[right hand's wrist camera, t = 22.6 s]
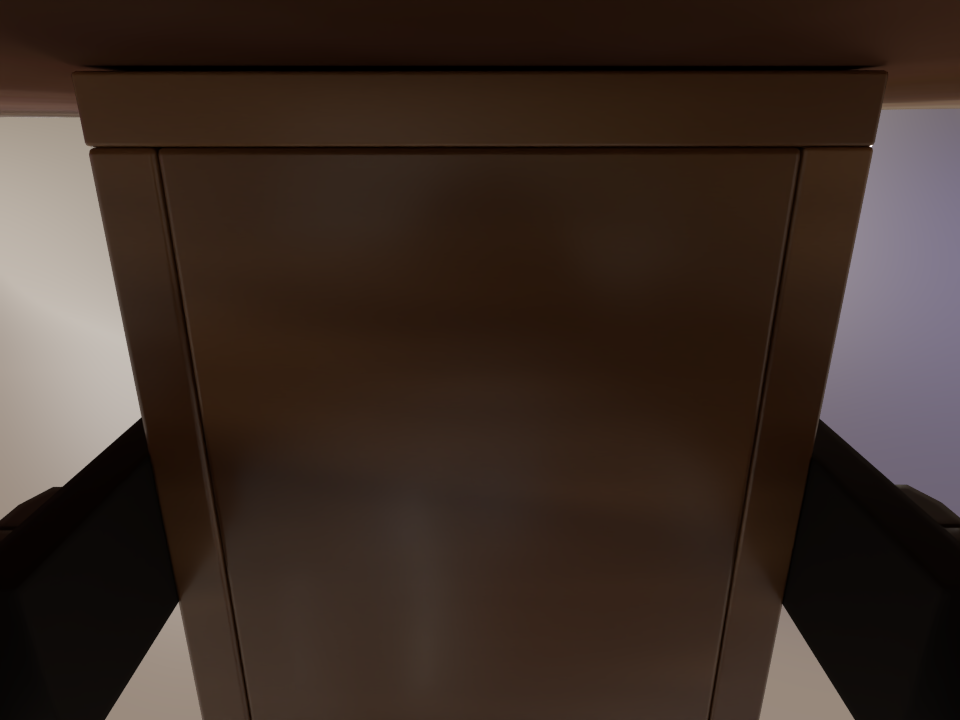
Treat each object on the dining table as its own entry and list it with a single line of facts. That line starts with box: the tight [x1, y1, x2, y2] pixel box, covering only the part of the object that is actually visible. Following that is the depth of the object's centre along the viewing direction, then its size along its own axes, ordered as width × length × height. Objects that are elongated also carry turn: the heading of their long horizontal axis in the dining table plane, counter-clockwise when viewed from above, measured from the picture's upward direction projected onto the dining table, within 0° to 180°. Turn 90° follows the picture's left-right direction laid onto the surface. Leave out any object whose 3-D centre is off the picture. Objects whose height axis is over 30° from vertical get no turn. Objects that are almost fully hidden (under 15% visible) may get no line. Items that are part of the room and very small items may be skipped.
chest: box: [72, 70, 888, 720], centre depth 17 cm, size 15×10×11 cm, turn 0°
